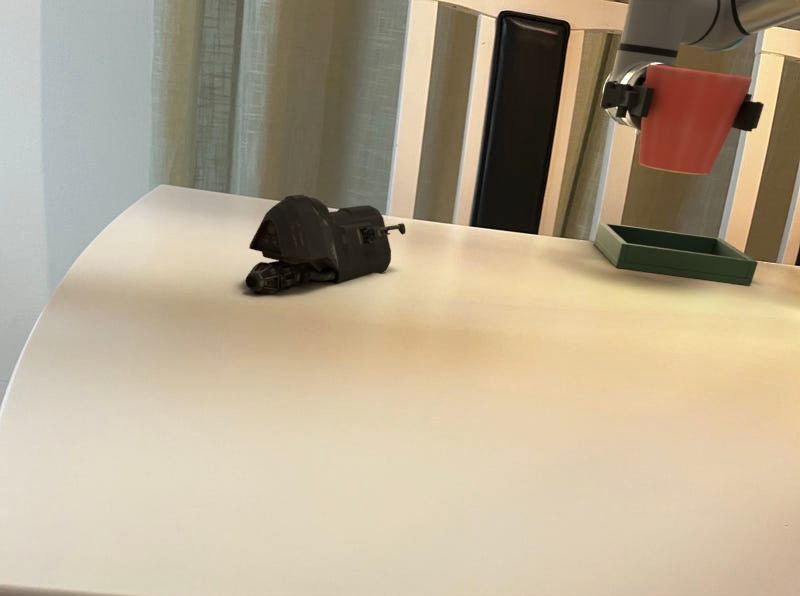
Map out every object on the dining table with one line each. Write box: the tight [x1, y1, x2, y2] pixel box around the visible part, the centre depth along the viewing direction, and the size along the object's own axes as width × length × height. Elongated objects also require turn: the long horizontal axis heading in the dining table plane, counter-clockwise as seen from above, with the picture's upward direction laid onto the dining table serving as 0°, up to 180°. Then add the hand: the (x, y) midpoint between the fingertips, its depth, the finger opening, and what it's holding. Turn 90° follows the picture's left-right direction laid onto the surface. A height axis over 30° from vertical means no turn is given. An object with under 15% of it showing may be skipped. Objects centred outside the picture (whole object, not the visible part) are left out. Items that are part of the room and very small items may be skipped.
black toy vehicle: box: [245, 194, 406, 295], centre depth 95 cm, size 7×25×8 cm, turn 152°
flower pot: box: [638, 64, 753, 176], centre depth 109 cm, size 11×11×10 cm
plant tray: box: [593, 221, 759, 287], centre depth 129 cm, size 17×17×3 cm
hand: (699, 109), depth 105 cm, fingers closed on flower pot, 10 cm apart
